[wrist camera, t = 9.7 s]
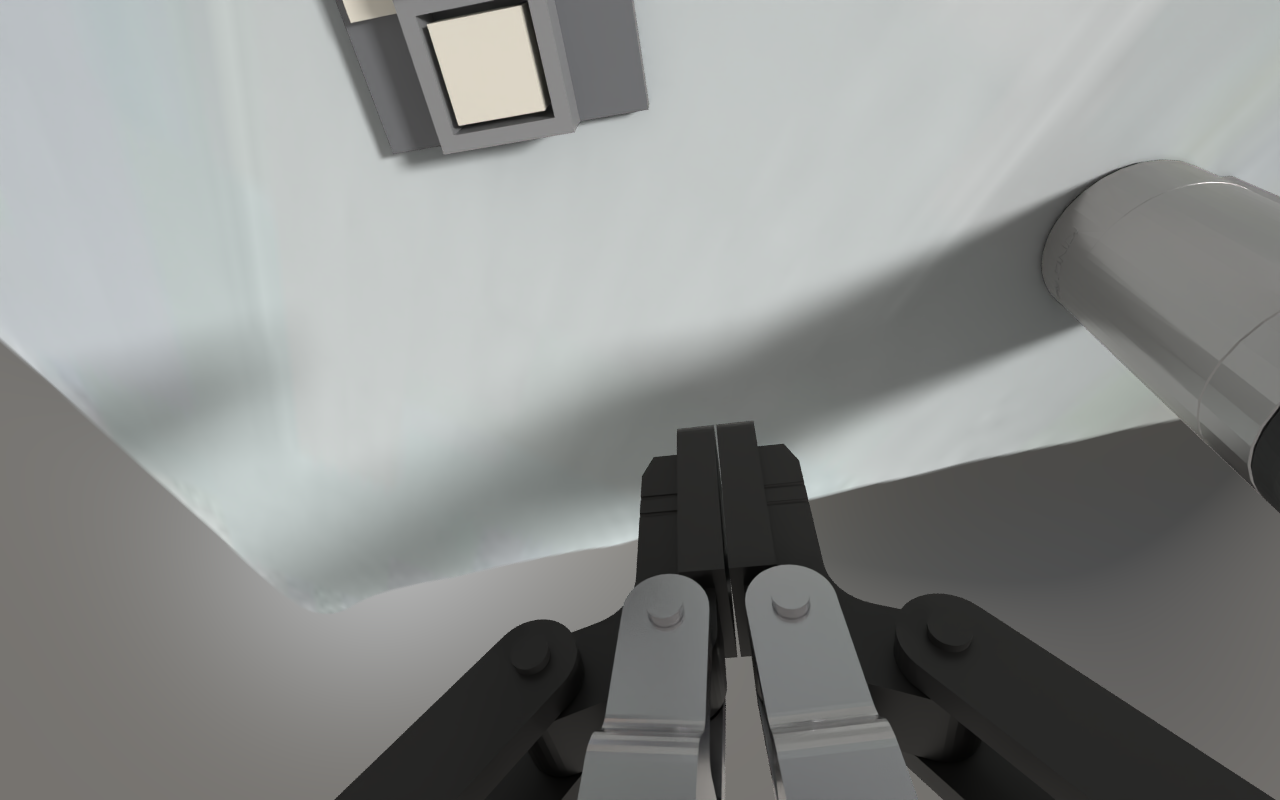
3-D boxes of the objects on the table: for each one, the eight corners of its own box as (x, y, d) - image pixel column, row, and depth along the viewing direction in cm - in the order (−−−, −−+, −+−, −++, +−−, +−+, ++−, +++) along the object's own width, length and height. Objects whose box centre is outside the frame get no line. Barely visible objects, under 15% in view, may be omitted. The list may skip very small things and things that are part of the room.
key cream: (528, 2, 30) (519, 5, 29) (551, 101, 33) (544, 110, 31) (439, 19, 31) (426, 24, 29) (469, 116, 34) (458, 125, 32)
